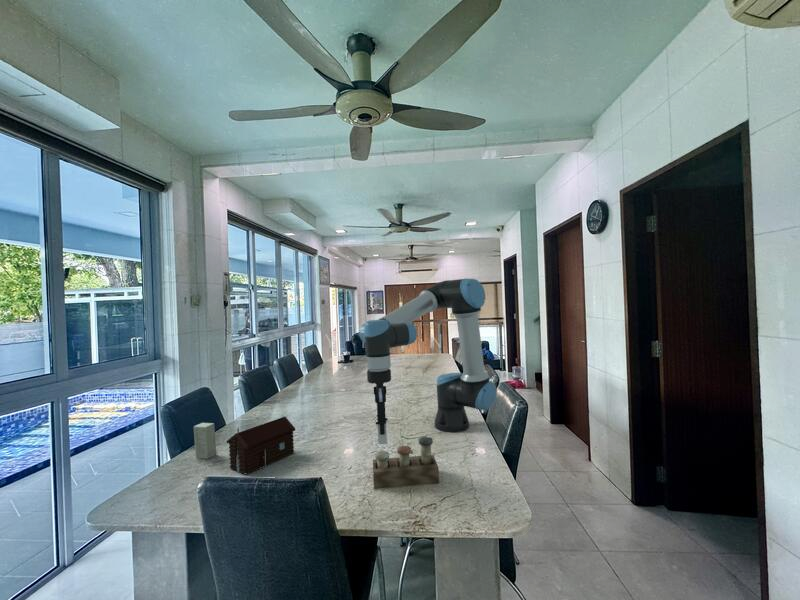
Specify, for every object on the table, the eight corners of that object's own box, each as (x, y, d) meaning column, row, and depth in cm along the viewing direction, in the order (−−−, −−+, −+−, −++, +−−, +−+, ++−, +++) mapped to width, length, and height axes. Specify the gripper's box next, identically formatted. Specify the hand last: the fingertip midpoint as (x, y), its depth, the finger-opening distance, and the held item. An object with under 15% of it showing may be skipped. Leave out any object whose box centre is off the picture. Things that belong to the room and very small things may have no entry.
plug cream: (389, 475, 117) (388, 450, 117) (390, 481, 113) (389, 456, 113) (376, 476, 117) (375, 451, 117) (376, 483, 112) (375, 457, 112)
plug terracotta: (411, 470, 118) (410, 445, 118) (412, 476, 113) (411, 450, 113) (397, 471, 117) (396, 446, 117) (398, 477, 113) (397, 452, 113)
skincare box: (216, 454, 140) (215, 423, 140) (207, 459, 136) (206, 427, 136) (203, 453, 142) (202, 422, 142) (194, 458, 138) (193, 426, 138)
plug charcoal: (432, 461, 118) (431, 436, 118) (434, 467, 114) (433, 441, 114) (418, 462, 118) (417, 437, 118) (420, 468, 113) (419, 442, 113)
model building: (247, 476, 121) (245, 431, 121) (227, 468, 128) (226, 426, 128) (296, 453, 138) (294, 414, 138) (277, 447, 145) (275, 410, 145)
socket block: (433, 469, 120) (433, 454, 120) (439, 483, 112) (438, 467, 112) (373, 474, 119) (372, 459, 119) (373, 488, 110) (373, 472, 110)
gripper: (367, 365, 121) (370, 436, 121) (366, 374, 108) (370, 453, 108) (389, 364, 121) (393, 434, 122) (391, 372, 108) (396, 450, 109)
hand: (382, 443), depth 115 cm, fingers closed
